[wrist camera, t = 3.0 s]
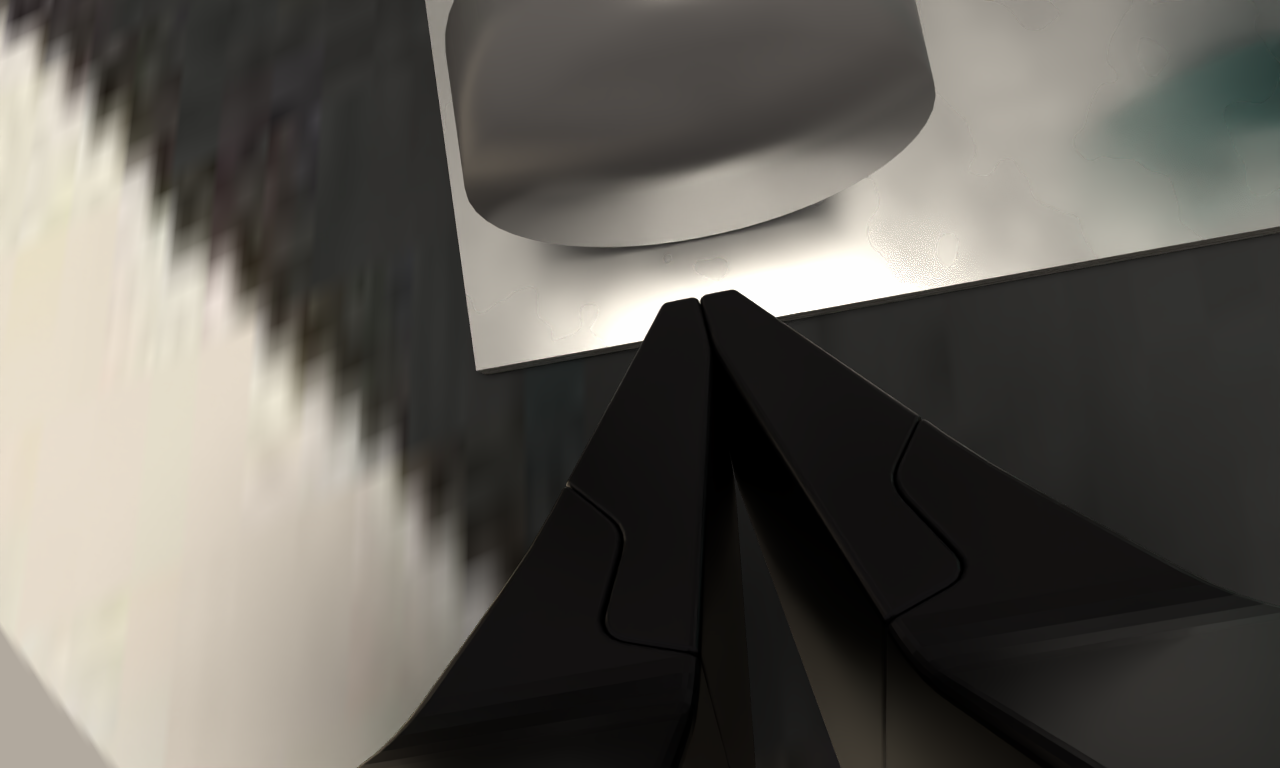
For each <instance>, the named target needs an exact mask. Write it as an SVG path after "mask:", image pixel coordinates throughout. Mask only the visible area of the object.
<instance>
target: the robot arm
mask: <svg viewBox="0 0 1280 768" xmlns="http://www.w3.org/2000/svg"><path fill="white" fill-rule="evenodd" d="M730 457H731V458H730ZM731 461H732V464H731ZM732 465H733V469H734V473H735V477H736V480H737V483H738V486H739V490H740V493H741V496H742V498H743V501H744V504H745V507H746V509H747V512H748V515H749V518H750V520H751V523H752V526H753V528H754V531H755V534H756V537H757V539H758V542H759V545H760V548H761V550H762V553H763V556H764V559H765V561H766V564H767V567H768V570H769V572H770V575H771V578H772V580H773V583H774V586H775V589H776V591H777V594H778V597H779V600H780V602H781V605H782V608H783V611H784V613H785V616H786V619H787V621H788V624H789V627H790V630H791V632H792V635H793V638H794V641H795V643H796V646H797V649H798V652H799V654H800V657H801V660H802V663H803V665H804V668H805V671H806V673H807V676H808V679H809V682H810V684H811V687H812V690H813V693H814V695H815V698H816V701H817V704H818V706H819V709H820V712H821V714H822V717H823V720H824V723H825V725H826V728H827V731H828V734H829V736H830V739H831V742H832V745H833V747H834V750H835V753H836V756H837V758H838V761H839V764H840V766H841V768H1280V606H1277V605H1272V604H1268V603H1265V602H1262V601H1259V600H1256V599H1253V598H1250V597H1247V596H1243V595H1241V594H1238V593H1236V592H1233V591H1231V590H1228V589H1226V588H1224V587H1221V586H1219V585H1216V584H1214V583H1211V582H1209V581H1207V580H1205V579H1203V578H1201V577H1199V576H1197V575H1195V574H1193V573H1191V572H1189V571H1187V570H1185V569H1183V568H1182V567H1180V566H1178V565H1176V564H1174V563H1172V562H1170V561H1169V560H1167V559H1165V558H1163V557H1161V556H1159V555H1157V554H1156V553H1154V552H1152V551H1150V550H1148V549H1146V548H1144V547H1143V546H1141V545H1139V544H1137V543H1135V542H1133V541H1132V540H1130V539H1128V538H1126V537H1124V536H1122V535H1120V534H1119V533H1117V532H1115V531H1113V530H1111V529H1109V528H1107V527H1106V526H1104V525H1102V524H1100V523H1098V522H1096V521H1094V520H1093V519H1091V518H1089V517H1087V516H1085V515H1083V514H1081V513H1080V512H1078V511H1076V510H1074V509H1072V508H1070V507H1069V506H1067V505H1065V504H1063V503H1061V502H1059V501H1057V500H1056V499H1054V498H1052V497H1050V496H1048V495H1046V494H1045V493H1043V492H1041V491H1039V490H1038V489H1036V488H1034V487H1032V486H1031V485H1029V484H1027V483H1025V482H1024V481H1022V480H1020V479H1018V478H1017V477H1015V476H1013V475H1011V474H1010V473H1008V472H1006V471H1004V470H1003V469H1001V468H999V467H997V466H995V465H994V464H992V463H991V462H989V461H988V460H986V459H984V458H983V457H981V456H980V455H978V454H977V453H975V452H974V451H972V450H970V449H969V448H967V447H966V446H964V445H963V444H961V443H960V442H958V441H956V440H955V439H953V438H952V437H950V436H949V435H947V434H946V433H944V432H943V431H942V430H940V429H939V428H937V427H936V426H934V425H933V424H931V423H930V422H928V421H927V420H921V418H920V416H919V415H918V414H916V413H915V412H913V411H912V410H910V409H909V408H908V407H906V406H905V405H903V404H902V403H900V402H899V401H897V400H896V399H894V398H893V397H891V396H890V395H889V394H887V393H886V392H884V391H883V390H881V389H880V388H878V387H877V386H875V385H874V384H873V383H871V382H870V381H868V380H867V379H865V378H864V377H862V376H861V375H859V374H858V373H857V372H855V371H854V370H852V369H851V368H849V367H848V366H846V365H845V364H843V363H842V362H840V361H839V360H838V359H836V358H835V357H833V356H832V355H830V354H829V353H827V352H826V351H824V350H823V349H822V348H820V347H819V346H817V345H816V344H814V343H813V342H811V341H810V340H808V339H807V338H806V337H804V336H803V335H801V334H800V333H798V332H797V331H795V330H794V329H792V328H791V327H790V326H788V325H787V324H785V323H784V322H782V321H781V320H779V319H778V318H776V317H775V316H773V315H772V314H771V313H769V312H768V311H766V310H765V309H763V308H762V307H760V306H759V305H757V304H756V303H755V302H753V301H752V300H750V299H749V298H747V297H746V296H744V295H743V294H741V293H740V292H739V291H737V290H734V289H730V290H725V291H720V292H715V293H710V294H705V295H703V296H702V297H701V299H700V302H699V300H698V299H697V298H694V297H691V298H686V299H681V300H676V301H671V302H666V303H664V304H663V305H662V306H661V308H660V310H659V312H658V314H657V315H656V317H655V319H654V321H653V323H652V325H651V327H650V328H649V330H648V332H647V334H646V336H645V338H644V340H643V342H642V343H641V345H640V347H639V349H638V351H637V353H636V355H635V356H634V358H633V360H632V362H631V364H630V366H629V368H628V369H627V371H626V373H625V375H624V377H623V379H622V381H621V382H620V384H619V386H618V388H617V390H616V392H615V394H614V396H613V397H612V399H611V401H610V403H609V405H608V407H607V409H606V410H605V412H604V414H603V416H602V418H601V420H600V422H599V423H598V425H597V427H596V429H595V431H594V433H593V435H592V436H591V438H590V440H589V442H588V444H587V446H586V448H585V450H584V451H583V453H582V455H581V457H580V459H579V461H578V463H577V464H576V466H575V468H574V470H573V472H572V474H571V476H570V477H569V479H568V481H567V483H566V486H567V487H565V488H563V490H562V491H561V493H560V495H559V497H558V499H557V501H556V503H555V505H554V507H553V508H552V510H551V512H550V514H549V516H548V517H547V519H546V521H545V522H544V524H543V526H542V528H541V529H540V531H539V533H538V534H537V536H536V538H535V540H534V541H533V543H532V545H531V546H530V548H529V550H528V551H527V553H526V554H525V556H524V557H523V559H522V560H521V562H520V563H519V565H518V566H517V568H516V569H515V571H514V572H513V574H512V575H511V577H510V578H509V580H508V581H507V583H506V584H505V586H504V587H503V589H502V590H501V592H500V593H499V595H498V596H497V597H496V599H495V600H494V602H493V603H492V604H491V606H490V607H489V609H488V610H487V611H486V613H485V614H484V616H483V617H482V618H481V620H480V621H479V623H478V624H477V625H476V627H475V628H474V630H473V631H472V632H471V634H470V635H469V637H468V638H467V640H466V641H465V642H464V644H463V645H462V647H461V648H460V649H459V651H458V652H457V654H456V655H455V656H454V658H453V659H452V661H451V662H450V663H449V665H448V666H447V668H446V669H445V670H444V672H443V673H442V675H441V676H440V677H439V679H438V680H437V682H436V683H435V684H434V686H433V687H432V689H431V690H430V691H429V693H428V694H427V696H426V697H425V698H424V700H423V701H422V702H421V704H420V705H419V706H418V708H417V709H416V710H415V712H414V713H413V714H412V715H411V717H410V718H409V719H408V721H407V722H406V723H405V724H404V725H403V726H402V727H401V728H400V729H399V731H398V732H397V733H396V734H395V735H394V736H393V737H392V738H391V739H390V740H389V741H388V742H387V743H386V744H385V745H384V746H383V747H382V748H381V749H380V750H378V751H377V752H376V753H375V754H374V755H373V756H372V757H370V758H369V759H368V760H366V761H365V762H364V763H362V764H361V765H360V766H358V767H357V768H756V767H755V753H754V740H753V726H752V712H751V698H750V684H749V670H748V656H747V642H746V629H745V615H744V601H743V587H742V573H741V559H740V545H739V532H738V518H737V504H736V492H735V483H734V475H733V469H732Z"/></svg>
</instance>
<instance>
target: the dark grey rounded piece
mask: <svg viewBox="0 0 1280 768" xmlns="http://www.w3.org/2000/svg"><path fill="white" fill-rule="evenodd" d="M445 52H446V59H447V66H448V73H449V81H450V88H451V95H452V102H453V109H454V116H455V123H456V130H457V137H458V145H459V152H460V159H461V166H462V173H463V180H464V187H465V191H466V195H467V198H468V201H469V202H470V204H471V205H472V207H473V208H474V210H475V211H476V212H477V213H478V214H479V215H480V216H481V217H483V218H484V219H485V220H486V221H488V222H489V223H491V224H493V225H494V226H496V227H498V228H499V229H502V230H504V231H507V232H509V233H511V234H514V235H517V236H520V237H524V238H527V239H531V240H535V241H541V242H546V243H551V244H559V245H567V246H582V247H627V246H642V245H653V244H662V243H669V242H677V241H683V240H689V239H695V238H701V237H706V236H710V235H715V234H720V233H724V232H728V231H732V230H736V229H740V228H744V227H748V226H751V225H755V224H758V223H762V222H765V221H768V220H771V219H774V218H777V217H780V216H783V215H786V214H789V213H792V212H794V211H797V210H799V209H802V208H805V207H807V206H810V205H812V204H814V203H817V202H819V201H821V200H823V199H826V198H828V197H830V196H832V195H834V194H836V193H838V192H840V191H842V190H844V189H846V188H848V187H850V186H852V185H854V184H856V183H857V182H859V181H861V180H862V179H864V178H866V177H868V176H869V175H871V174H872V173H874V172H875V171H877V170H878V169H880V168H881V167H883V166H884V165H886V164H887V163H888V162H890V161H891V160H892V159H893V158H894V157H896V156H897V155H898V154H899V153H901V152H902V151H903V150H904V149H905V148H906V147H907V146H908V145H909V144H910V143H911V142H912V141H913V140H914V139H915V138H916V137H917V135H918V134H919V133H920V131H921V130H922V129H923V127H924V126H925V125H926V123H927V121H928V119H929V117H930V115H931V113H932V111H933V107H934V102H935V97H936V94H935V86H934V80H933V76H932V71H931V67H930V62H929V58H928V54H927V49H926V45H925V40H924V36H923V32H922V27H921V23H920V19H919V14H918V10H917V5H916V1H915V0H454V2H453V4H452V7H451V9H450V12H449V15H448V20H447V25H446V30H445Z"/></svg>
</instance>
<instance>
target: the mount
mask: <svg viewBox="0 0 1280 768" xmlns="http://www.w3.org/2000/svg"><path fill="white" fill-rule="evenodd" d="M915 1H916V5H917V10H918V14H919V19H920V23H921V27H922V32H923V36H924V40H925V45H926V49H927V54H928V58H929V62H930V67H931V71H932V76H933V80H934V86H935V94H936V97H935V102H934V107H933V111H932V113H931V115H930V117H929V119H928V121H927V123H926V125H925V126H924V127H923V129H922V130H921V131H920V133H919V134H918V135H917V137H916V138H915V139H914V140H913V141H912V142H911V143H910V144H909V145H908V146H907V147H906V148H905V149H904V150H903V151H902V152H901V153H899V154H898V155H897V156H896V157H894V158H893V159H892V160H891V161H890V162H888V163H887V164H886V165H884V166H883V167H881V168H880V169H878V170H877V171H875V172H874V173H872V174H871V175H869V176H868V177H866V178H864V179H862V180H861V181H859V182H857V183H856V184H854V185H852V186H850V187H848V188H846V189H844V190H842V191H840V192H838V193H836V194H834V195H832V196H830V197H828V198H826V199H823V200H821V201H819V202H817V203H814V204H812V205H810V206H807V207H805V208H802V209H799V210H797V211H794V212H792V213H789V214H786V215H783V216H780V217H777V218H774V219H771V220H768V221H765V222H762V223H758V224H755V225H751V226H748V227H744V228H740V229H736V230H732V231H728V232H724V233H720V234H715V235H710V236H706V237H701V238H695V239H689V240H683V241H677V242H669V243H662V244H653V245H642V246H627V247H582V246H567V245H559V244H551V243H546V242H541V241H535V240H531V239H527V238H524V237H520V236H517V235H514V234H511V233H509V232H507V231H504V230H502V229H499V228H498V227H496V226H494V225H493V224H491V223H489V222H488V221H486V220H485V219H484V218H483V217H481V216H480V215H479V214H478V213H477V212H476V211H475V210H474V208H473V207H472V205H471V204H470V202H469V201H468V198H467V195H466V191H465V187H464V180H463V173H462V166H461V159H460V152H459V145H458V137H457V130H456V123H455V116H454V109H453V102H452V95H451V88H450V81H449V73H448V66H447V59H446V52H445V30H446V25H447V20H448V15H449V12H450V9H451V7H452V4H453V2H454V0H425V3H426V10H427V17H428V24H429V32H430V39H431V46H432V53H433V61H434V68H435V75H436V82H437V89H438V97H439V104H440V111H441V118H442V126H443V133H444V140H445V147H446V155H447V162H448V169H449V176H450V184H451V191H452V198H453V205H454V212H455V220H456V227H457V234H458V241H459V249H460V256H461V263H462V270H463V278H464V285H465V292H466V299H467V307H468V314H469V321H470V328H471V335H472V343H473V350H474V357H475V364H476V371H478V372H481V373H483V374H485V375H489V374H495V373H501V372H506V371H512V370H517V369H523V368H529V367H534V366H540V365H545V364H551V363H556V362H562V361H568V360H573V359H579V358H584V357H590V356H596V355H601V354H607V353H612V352H618V351H623V350H629V349H635V348H639V347H640V345H641V343H642V342H643V340H644V338H645V336H646V334H647V332H648V330H649V328H650V327H651V325H652V323H653V321H654V319H655V317H656V315H657V314H658V312H659V310H660V308H661V306H662V305H663V304H664V303H666V302H671V301H676V300H681V299H686V298H691V297H694V298H697V299H698V300H699V302H700V299H701V297H702V296H703V295H705V294H710V293H715V292H720V291H725V290H730V289H734V290H737V291H739V292H740V293H741V294H743V295H744V296H746V297H747V298H749V299H750V300H752V301H753V302H755V303H756V304H757V305H759V306H760V307H762V308H763V309H765V310H766V311H768V312H769V313H771V314H772V315H773V316H775V317H776V318H778V319H779V320H781V321H782V322H785V321H791V320H797V319H802V318H808V317H813V316H819V315H824V314H830V313H836V312H841V311H847V310H852V309H858V308H864V307H869V306H875V305H880V304H886V303H891V302H897V301H903V300H908V299H914V298H919V297H925V296H931V295H936V294H942V293H947V292H953V291H958V290H964V289H970V288H975V287H981V286H986V285H992V284H998V283H1003V282H1009V281H1014V280H1020V279H1025V278H1031V277H1037V276H1042V275H1048V274H1053V273H1059V272H1065V271H1070V270H1076V269H1081V268H1087V267H1092V266H1098V265H1104V264H1109V263H1115V262H1120V261H1126V260H1132V259H1137V258H1143V257H1148V256H1154V255H1159V254H1165V253H1171V252H1176V251H1182V250H1187V249H1193V248H1199V247H1204V246H1210V245H1215V244H1221V243H1226V242H1232V241H1238V240H1243V239H1249V238H1254V237H1260V236H1266V235H1271V234H1277V233H1280V0H915Z"/></svg>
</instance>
